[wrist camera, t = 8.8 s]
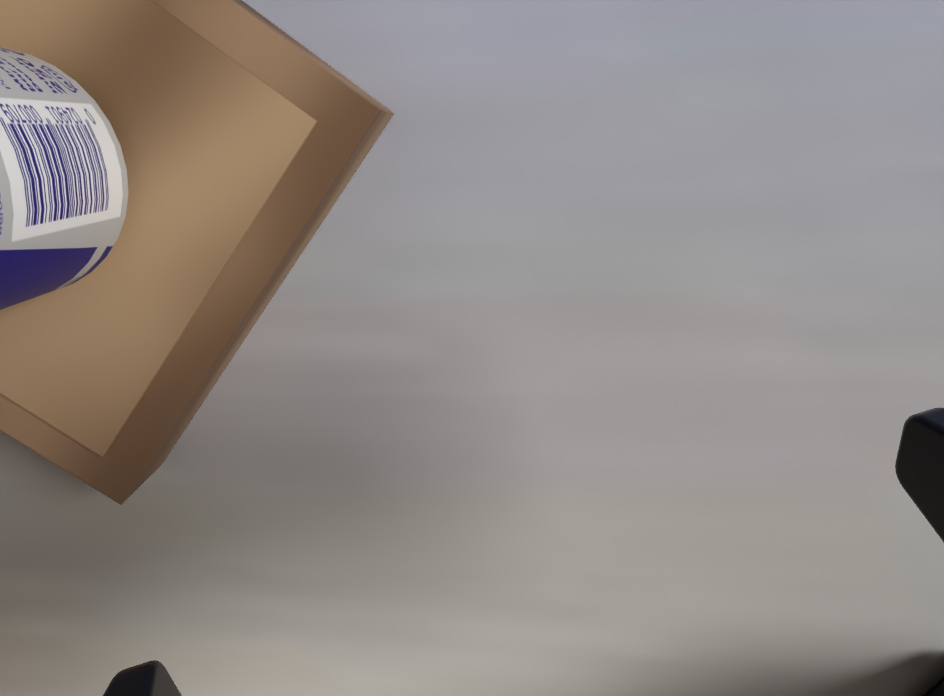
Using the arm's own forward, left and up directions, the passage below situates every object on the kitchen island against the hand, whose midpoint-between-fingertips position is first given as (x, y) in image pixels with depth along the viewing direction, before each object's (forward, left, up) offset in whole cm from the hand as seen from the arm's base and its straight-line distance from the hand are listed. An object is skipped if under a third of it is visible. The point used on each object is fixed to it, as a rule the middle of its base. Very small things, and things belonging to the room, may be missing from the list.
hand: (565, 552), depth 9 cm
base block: (+12, +4, -12) cm, 18 cm away
